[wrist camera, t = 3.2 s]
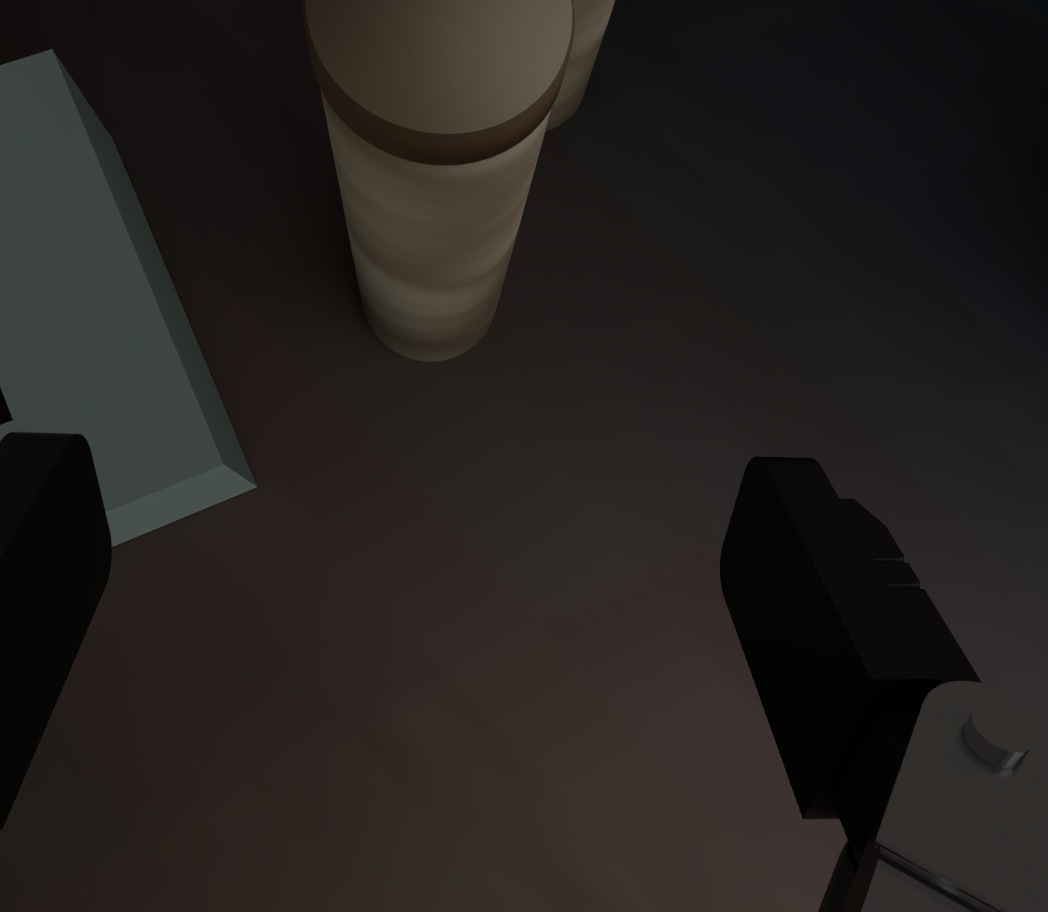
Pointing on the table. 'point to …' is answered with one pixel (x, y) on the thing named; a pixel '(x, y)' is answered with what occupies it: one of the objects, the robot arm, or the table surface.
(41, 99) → the socket block
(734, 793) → the table surface
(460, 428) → the table surface
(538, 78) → the tall pin
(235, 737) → the table surface
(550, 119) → the short pin
